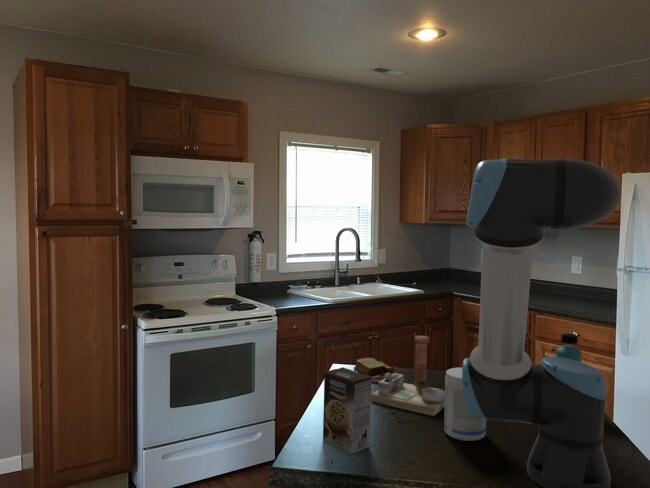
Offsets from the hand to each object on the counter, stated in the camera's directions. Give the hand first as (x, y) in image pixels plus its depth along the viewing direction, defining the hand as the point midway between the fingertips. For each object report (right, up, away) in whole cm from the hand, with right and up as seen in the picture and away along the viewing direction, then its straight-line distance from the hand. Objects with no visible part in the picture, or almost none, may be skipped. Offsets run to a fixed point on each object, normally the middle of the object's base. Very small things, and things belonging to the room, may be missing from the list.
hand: (498, 311), depth 142 cm
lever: (-17, -23, +7) cm, 30 cm away
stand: (-21, -26, +8) cm, 34 cm away
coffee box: (-40, -27, -20) cm, 53 cm away
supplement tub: (-12, -27, -13) cm, 33 cm away
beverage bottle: (+20, -27, +6) cm, 34 cm away
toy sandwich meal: (-29, -24, +29) cm, 48 cm away
